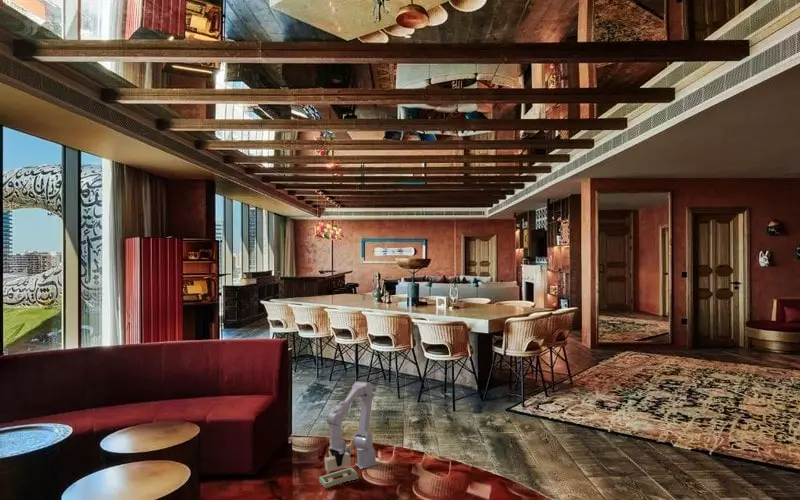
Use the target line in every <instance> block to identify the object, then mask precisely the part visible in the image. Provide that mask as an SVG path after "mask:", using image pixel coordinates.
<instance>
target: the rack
mask: <svg viewBox="0 0 800 500" xmlns="http://www.w3.org/2000/svg"><path fill="white" fill-rule="evenodd" d="M349 473H351V474H350V475H348V474H349ZM341 475H342V476H343V477H341V478H338V479H333V478H335V477H338V476H341ZM355 479H358V480H359V473H358V472H357V471H356V470H355V469H354V468H353V467H348V468H347V467H346V468H345V469H344V468H343V469H340V470H338V471H335V472H331V473H328V474H325V475H322V476H319V477H318V480H319V481H318V482H320V483H321V484H322V485H323V486H324V487H325V488H327V487H330V486H333V485H336V484H339V483H342V482H346V481H351V480H355ZM326 481H328V482H326ZM320 483H319V484H320ZM321 484H320V485H321Z"/></svg>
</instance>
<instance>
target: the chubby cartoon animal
mask: <svg viewBox="0 0 800 500" xmlns="http://www.w3.org/2000/svg"><path fill="white" fill-rule="evenodd" d="M342 445H343V451H345V452H347V453H349V454H350V456H352V455H353V451H352V449H351V445H347V443H346V441H345V440H344V439H342Z"/></svg>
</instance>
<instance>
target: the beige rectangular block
mask: <svg viewBox="0 0 800 500" xmlns="http://www.w3.org/2000/svg"><path fill="white" fill-rule="evenodd" d="M349 466H351V455H350V454H349V453H347V452H345V454H344V456H343V460H342V466H337V463H336V458H335V456H334V455H333V456H332V455H331V456H328V457H324V470H325V471H326V473H329V472H332V471H336V470H339V469H340V470H341V469H344V468H347V467H349Z"/></svg>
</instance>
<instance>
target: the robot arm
mask: <svg viewBox="0 0 800 500" xmlns="http://www.w3.org/2000/svg"><path fill="white" fill-rule="evenodd" d="M373 392H374V386H373V384H372V383H371V382H370V381H369V382H366V381H365V382H363V381H358V380H357V381H355V382H354V383H353V384H352V387H351V391H350V392H349V394H348V395H347V396H346V398H345V399H344V400H343V401H340V402H339V404H338V405H337V406H336V408H334V410H333V411H332V412H330V413H328V414H327V417H326V422H327V424H328V427H329V436H330V442H329V446H328V450H329V451H330V454H331V456H333V455H334V456H335V458H336V463H337V466H342V460H343V456H344V454H345V451H343V445H342V440H343V437H342V423H343V420H344V418H345V415H346V414H347V412H348V411H349V410H350V405H351V404H352V403H353V402H354V401H355V399H356V398H358V397H360V399H361V407H360V417H359V426H358V429H357V430H356V431H355V432H354V437H353V440H352V444H353V447H355V450H356V456H357V457H356V458H357V463H355V464H354V465H355V466H356V465H357V466H358V467H359V468H358V467H357V466H356V467H357V468H358V469H360V470H364V469H366V468H369V467H370V468H371V467H373V466H377V461H376V452H375V450H376V449H375V448H374V447H373V442H374V441H373V434H372V432H371V431H370V421H371V412H372V401H373V394H374V393H373ZM363 468H364V469H363Z"/></svg>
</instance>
